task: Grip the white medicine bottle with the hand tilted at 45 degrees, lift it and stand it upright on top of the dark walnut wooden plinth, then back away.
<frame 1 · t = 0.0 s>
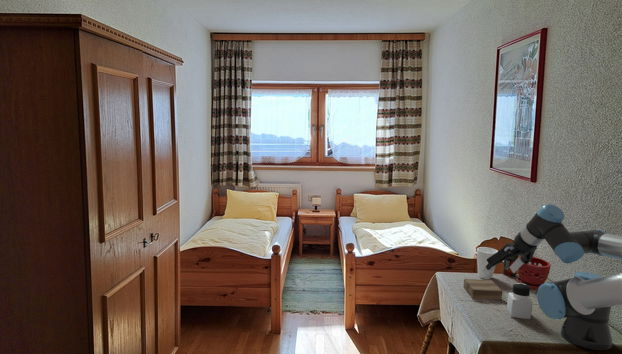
hand: (498, 271, 175), 15 cm above the table, tool tilted 35°, fingers open, 13 cm apart
walnut plinth: (481, 293, 191), on the table
foam cup: (484, 277, 212), on the table
medicine bottle: (518, 314, 173), on the table
plant pot: (531, 286, 203), on the table
deodorant: (509, 275, 216), on the table
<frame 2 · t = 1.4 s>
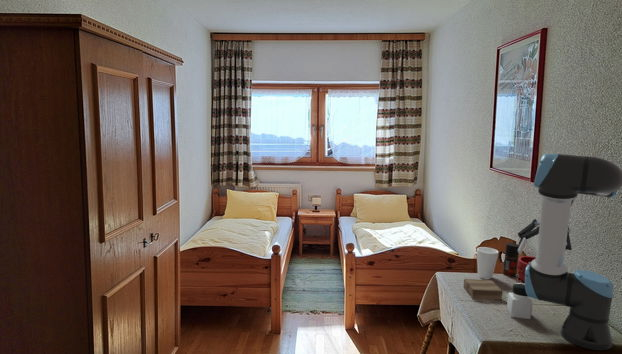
hand: (536, 257, 177), 21 cm above the table, tool tilted 45°, fingers open, 13 cm apart
nothing on the table moved.
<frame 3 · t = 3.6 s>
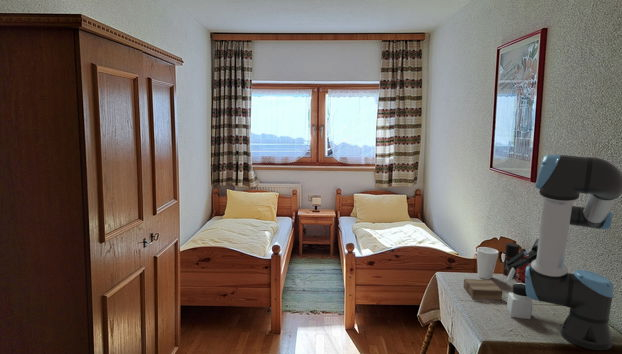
hand: (524, 288, 174), 9 cm above the table, tool tilted 45°, fingers open, 13 cm apart
nothing on the table moved.
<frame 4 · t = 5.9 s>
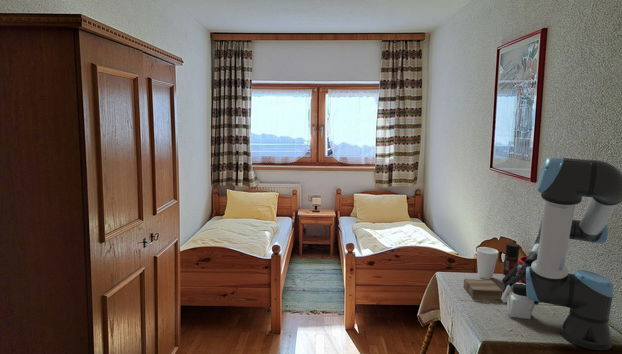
hand: (516, 305, 170), 4 cm above the table, tool tilted 45°, fingers closed on medicine bottle, 10 cm apart
medicine bottle: (518, 314, 173), on the table, touching gripper
everything else where it was.
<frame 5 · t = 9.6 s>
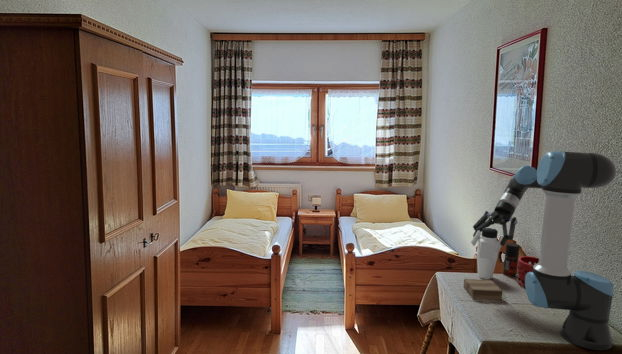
hand: (484, 247, 186), 21 cm above the table, tool tilted 45°, fingers closed on medicine bottle, 10 cm apart
medicine bottle: (487, 256, 189), point 17 cm above the table, touching gripper
everything else where it was.
when the fingers open (10 cm above the table, at t = 13.2 s): medicine bottle drops 1 cm, resting on walnut plinth.
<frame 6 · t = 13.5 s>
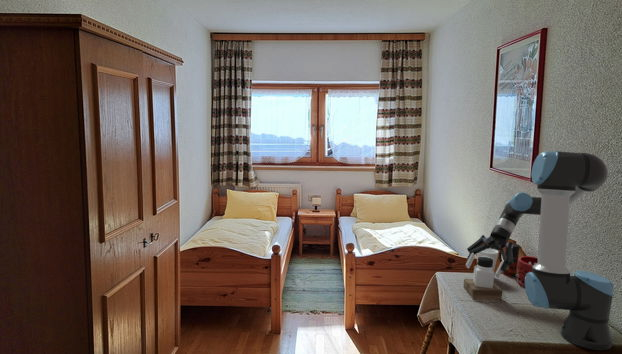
hand: (481, 271, 188), 11 cm above the table, tool tilted 45°, fingers open, 13 cm apart
medicine bottle: (482, 285, 191), point 4 cm above the table, touching walnut plinth
everything else where it was.
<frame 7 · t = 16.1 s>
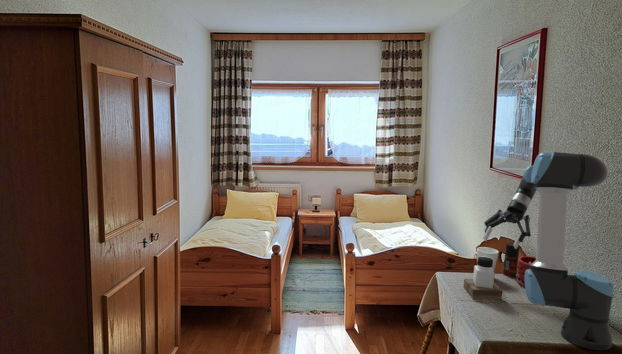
hand: (499, 243, 195), 21 cm above the table, tool tilted 45°, fingers open, 13 cm apart
nothing on the table moved.
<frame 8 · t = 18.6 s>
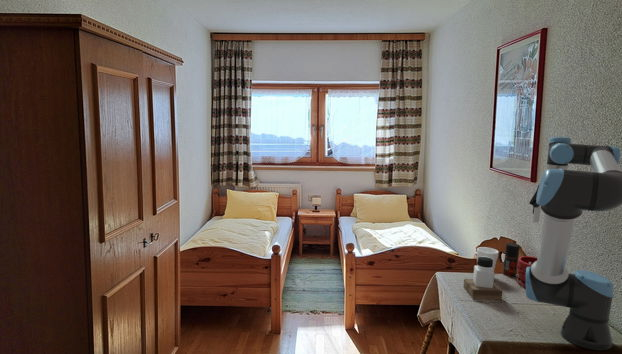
hand: (549, 226, 183), 32 cm above the table, tool pointing down, fingers open, 13 cm apart
nothing on the table moved.
at the end: medicine bottle inside the target area on the walnut plinth (0.1 cm from its centre), point 3.8 cm above the walnut plinth's base; medicine bottle tilted 0°; the gripper is holding nothing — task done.
